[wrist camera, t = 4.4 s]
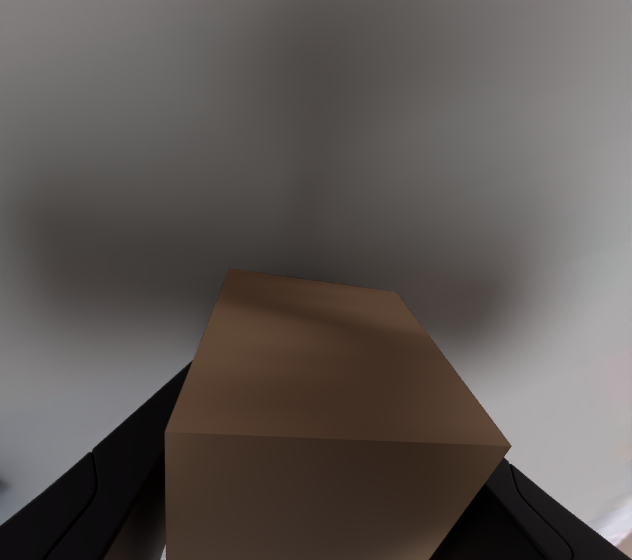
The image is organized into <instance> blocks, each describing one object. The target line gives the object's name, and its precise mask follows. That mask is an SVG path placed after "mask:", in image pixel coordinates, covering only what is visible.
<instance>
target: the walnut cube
mask: <svg viewBox="0 0 632 560" xmlns="http://www.w3.org/2000/svg"><path fill="white" fill-rule="evenodd" d="M510 448H511V445H510V443H509V442H508V441H507V439H506V438H505V436H504V435H503V434H502V432H501V431H500V430H499V428H498V427H497V426H496V424H495V423H494V422H493V420H492V419H491V418H490V416H489V415H488V414H487V412H486V411H485V410H484V408H483V407H482V406H481V404H480V403H479V402H478V400H477V399H476V398H475V396H474V395H473V394H472V392H471V391H470V390H469V388H468V387H467V386H466V384H465V383H464V382H463V380H462V379H461V378H460V376H459V375H458V374H457V372H456V371H455V370H454V368H453V367H452V366H451V364H450V363H449V362H448V360H447V359H446V358H445V356H444V355H443V354H442V352H441V351H440V350H439V348H438V347H437V346H436V344H435V343H434V341H433V340H432V339H431V337H430V336H429V335H428V333H427V332H426V331H425V329H424V328H423V327H422V325H421V324H420V323H419V321H418V320H417V319H416V317H415V316H414V315H413V313H412V312H411V311H410V309H409V308H408V307H407V305H406V304H405V303H404V301H403V300H402V299H401V297H400V296H399V295H398V293H397V292H391V291H384V290H377V289H370V288H363V287H356V286H349V285H342V284H335V283H328V282H321V281H314V280H307V279H300V278H293V277H286V276H279V275H272V274H265V273H258V272H251V271H244V270H238V269H231V268H229V271H228V273H227V276H226V278H225V281H224V284H223V286H222V289H221V291H220V294H219V296H218V299H217V301H216V304H215V306H214V309H213V311H212V314H211V316H210V319H209V321H208V324H207V326H206V329H205V332H204V334H203V337H202V339H201V342H200V344H199V347H198V349H197V352H196V354H195V357H194V359H193V362H192V364H191V367H190V369H189V372H188V374H187V377H186V380H185V382H184V385H183V387H182V390H181V392H180V395H179V397H178V400H177V402H176V405H175V407H174V410H173V412H172V415H171V417H170V420H169V422H168V425H167V428H166V430H165V505H166V560H429V559H430V557H431V556H432V554H433V553H434V552H435V550H436V549H437V548H438V546H439V545H440V543H441V542H442V541H443V539H444V538H445V537H446V535H447V534H448V533H449V531H450V530H451V528H452V527H453V526H454V524H455V523H456V522H457V520H458V519H459V518H460V516H461V515H462V513H463V512H464V511H465V509H466V508H467V507H468V505H469V504H470V503H471V501H472V500H473V498H474V497H475V496H476V494H477V493H478V492H479V490H480V489H481V487H482V486H483V485H484V483H485V482H486V481H487V479H488V478H489V477H490V475H491V474H492V472H493V471H494V470H495V468H496V467H497V466H498V464H499V463H500V462H501V460H502V459H503V457H504V456H505V455H506V453H507V452H508V451H509V449H510Z"/></svg>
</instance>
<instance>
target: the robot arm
mask: <svg viewBox="0 0 632 560" xmlns="http://www.w3.org/2000/svg"><path fill="white" fill-rule="evenodd" d="M192 362H193V360H192V361H191V362H190V363H189V364H188V365H187V366H186V367H185V368H183V369H182V370H181V371H180V372H179V373H178V374H177V375H175V376H174V377H173V378H172V379H171V380H170V381H169V382H168V383H166V384H165V385H164V386H163V387H162V388H161V389H160V390H159V391H157V392H156V393H155V394H154V395H153V396H152V397H151V398H150V399H148V400H147V401H146V402H145V403H144V404H143V405H142V406H141V407H139V408H138V409H137V410H136V411H135V412H134V413H133V414H132V415H130V416H129V417H128V418H127V419H126V420H125V421H124V422H123V423H121V424H120V425H119V426H118V427H117V428H116V429H115V430H113V431H112V432H111V433H110V434H109V435H108V436H107V437H106V438H104V439H103V440H102V441H101V442H100V443H99V444H98V445H97V446H95V447H94V448H93V449H92V452H89V453H87V454H86V455H85V456H84V457H83V458H82V459H81V460H79V461H78V462H77V463H76V464H75V465H74V466H73V467H72V468H70V469H69V470H68V471H67V472H66V473H65V474H63V475H62V476H61V477H60V478H59V479H57V480H56V481H55V482H54V483H53V484H52V485H50V486H49V487H48V488H47V489H46V490H45V491H43V492H42V493H41V494H40V495H38V496H37V497H36V498H35V499H33V500H32V501H31V502H30V503H28V504H27V505H26V506H25V507H23V508H22V509H21V510H20V511H18V512H17V513H16V514H14V515H13V516H12V517H11V518H9V519H8V520H7V521H6V522H4V523H3V524H2V525H1V526H0V560H160V559H161V556H162V553H163V550H164V547H165V544H166V505H165V430H166V428H167V425H168V422H169V420H170V417H171V415H172V412H173V410H174V407H175V405H176V402H177V400H178V397H179V395H180V392H181V390H182V387H183V385H184V382H185V380H186V377H187V374H188V372H189V369H190V367H191V364H192ZM429 560H632V559H630V558H629V557H628V556H627V555H625V554H624V553H623V552H621V551H620V550H619V549H618V548H616V547H615V546H614V545H612V544H611V543H610V542H609V541H607V540H606V539H605V538H603V537H602V536H601V535H599V534H598V533H597V532H596V531H594V530H593V529H592V528H590V527H589V526H588V525H586V524H585V523H584V522H583V521H581V520H580V519H579V518H577V517H576V516H575V515H574V514H572V513H571V512H570V511H568V510H567V509H566V508H565V507H563V506H562V505H561V504H560V503H558V502H557V501H556V500H554V499H553V498H552V497H551V496H549V495H548V494H547V493H546V492H544V491H543V490H542V489H541V488H540V487H538V486H537V485H536V484H535V483H534V482H532V481H531V480H530V479H529V478H528V477H526V476H525V475H524V474H523V473H522V472H520V471H519V470H518V469H517V468H516V467H515V466H513V465H512V464H509V462H508V461H507V460H506V459H505V458H504V457H503V459H502V460H501V462H500V463H499V464H498V466H497V467H496V468H495V470H494V471H493V472H492V474H491V475H490V477H489V478H488V479H487V481H486V482H485V483H484V485H483V486H482V487H481V489H480V490H479V492H478V493H477V494H476V496H475V497H474V498H473V500H472V501H471V503H470V504H469V505H468V507H467V508H466V509H465V511H464V512H463V513H462V515H461V516H460V518H459V519H458V520H457V522H456V523H455V524H454V526H453V527H452V528H451V530H450V531H449V533H448V534H447V535H446V537H445V538H444V539H443V541H442V542H441V543H440V545H439V546H438V548H437V549H436V550H435V552H434V553H433V554H432V556H431V557H430V559H429Z"/></svg>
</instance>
